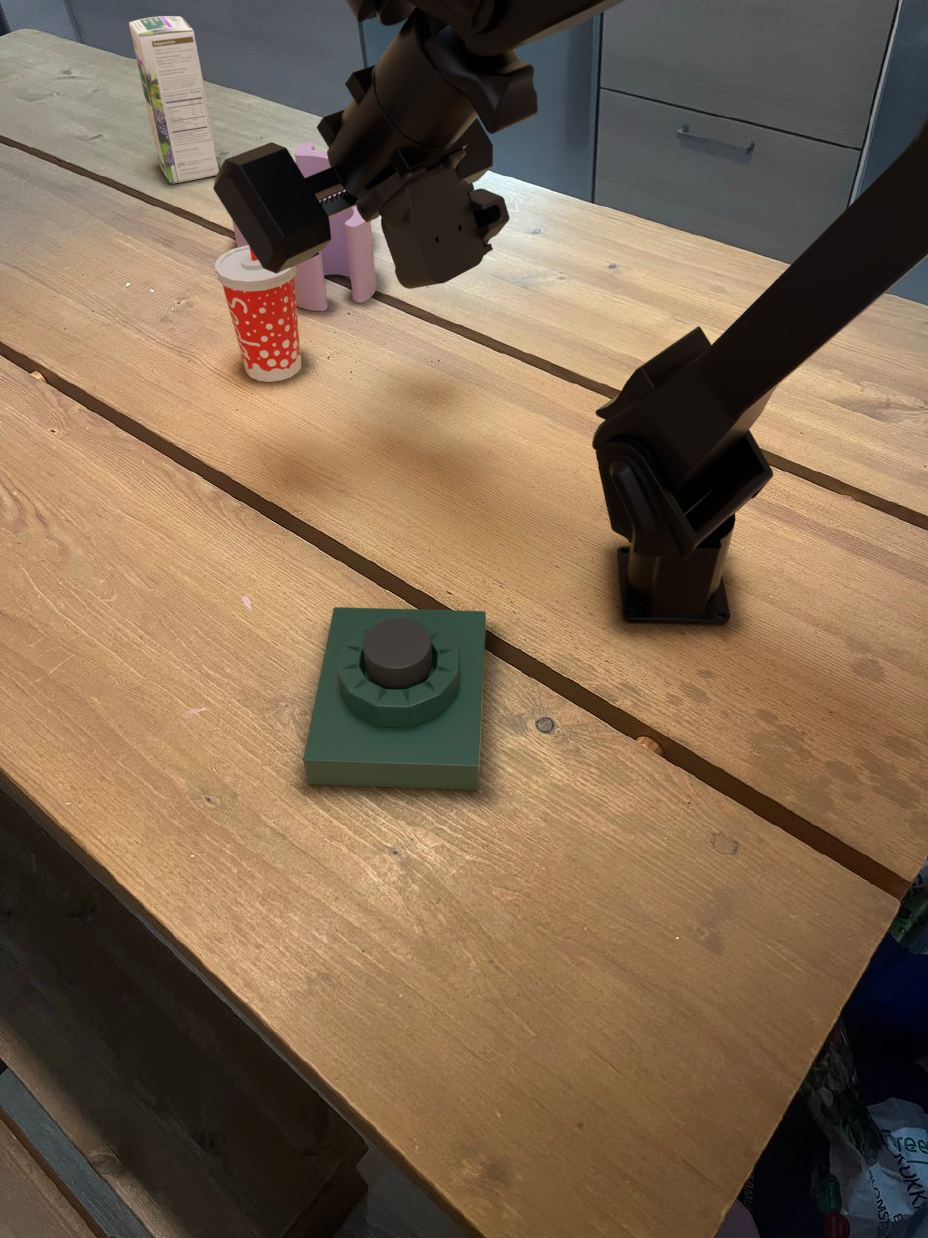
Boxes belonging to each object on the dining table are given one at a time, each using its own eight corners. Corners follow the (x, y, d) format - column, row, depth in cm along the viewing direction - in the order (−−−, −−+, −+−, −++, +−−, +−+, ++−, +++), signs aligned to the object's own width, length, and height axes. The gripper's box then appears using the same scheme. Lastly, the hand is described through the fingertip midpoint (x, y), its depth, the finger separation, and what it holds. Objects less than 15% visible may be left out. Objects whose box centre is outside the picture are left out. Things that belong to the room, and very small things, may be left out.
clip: (408, 292, 87) (403, 216, 82) (275, 321, 84) (262, 244, 79) (340, 207, 100) (333, 137, 95) (223, 229, 96) (209, 158, 91)
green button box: (478, 790, 50) (478, 745, 47) (308, 784, 50) (297, 739, 47) (485, 636, 57) (485, 588, 55) (337, 632, 58) (330, 584, 55)
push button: (429, 691, 50) (428, 669, 49) (361, 689, 50) (358, 667, 49) (434, 640, 52) (433, 618, 51) (369, 638, 53) (367, 616, 51)
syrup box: (158, 166, 108) (124, 19, 97) (209, 157, 109) (181, 12, 99) (170, 185, 104) (135, 34, 94) (222, 175, 106) (194, 26, 95)
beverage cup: (229, 355, 80) (193, 185, 70) (301, 341, 81) (275, 172, 71) (244, 393, 76) (208, 218, 66) (319, 377, 77) (295, 204, 67)
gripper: (378, 291, 49) (273, 395, 62) (597, 179, 58) (466, 290, 72) (255, 90, 47) (174, 241, 60) (503, 7, 56) (385, 154, 70)
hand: (312, 235), depth 65 cm, fingers open, 9 cm apart
